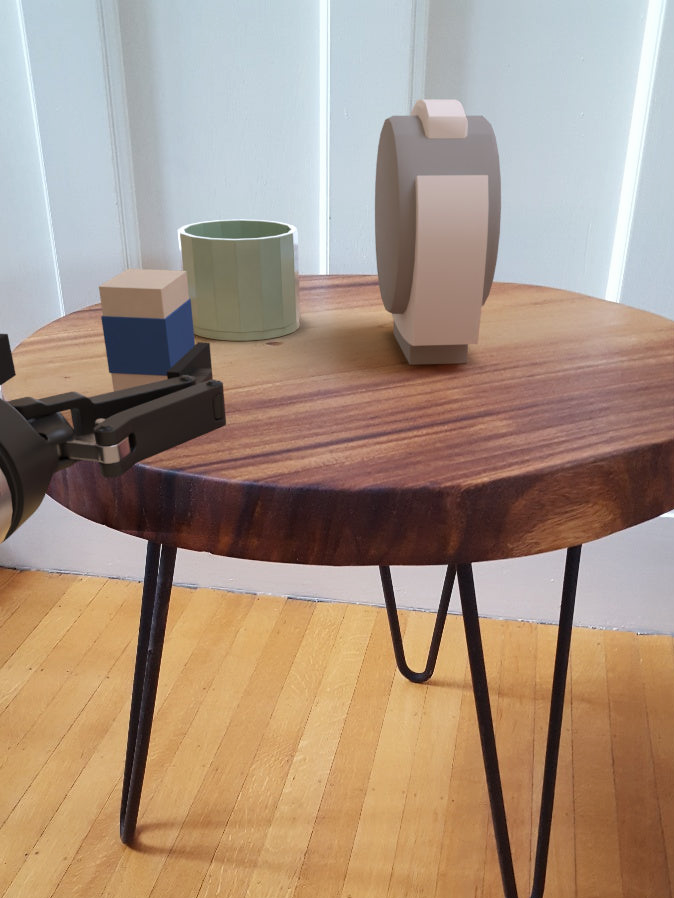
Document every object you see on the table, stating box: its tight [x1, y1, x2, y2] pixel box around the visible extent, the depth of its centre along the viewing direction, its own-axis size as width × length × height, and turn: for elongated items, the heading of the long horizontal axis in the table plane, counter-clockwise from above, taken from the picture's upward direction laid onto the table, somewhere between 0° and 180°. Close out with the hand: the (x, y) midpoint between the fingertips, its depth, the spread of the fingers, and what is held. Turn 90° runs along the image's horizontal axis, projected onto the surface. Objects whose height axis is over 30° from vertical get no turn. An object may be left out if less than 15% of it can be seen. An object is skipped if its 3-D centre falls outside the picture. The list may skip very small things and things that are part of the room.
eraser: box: [98, 268, 196, 392], centre depth 71 cm, size 5×6×10 cm
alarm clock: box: [374, 98, 502, 366], centre depth 85 cm, size 18×8×20 cm, turn 7°
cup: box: [177, 218, 301, 342], centre depth 94 cm, size 11×11×9 cm
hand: (105, 358), depth 63 cm, fingers open, 13 cm apart
